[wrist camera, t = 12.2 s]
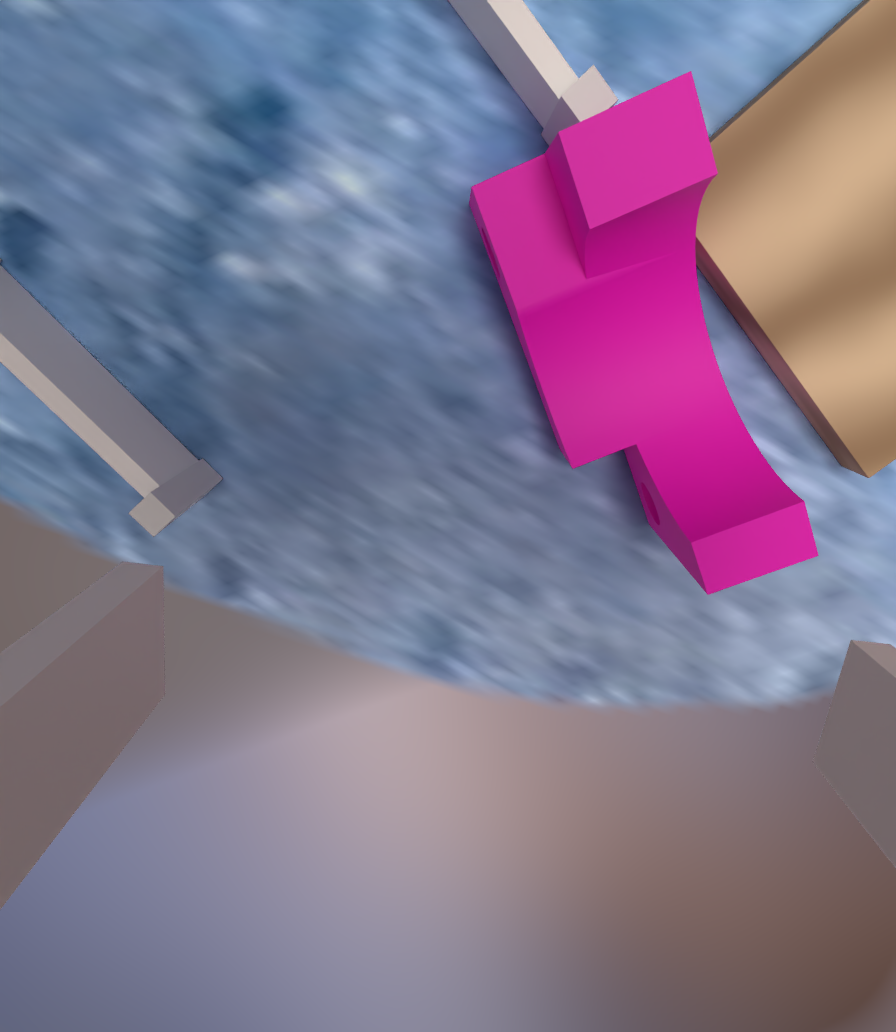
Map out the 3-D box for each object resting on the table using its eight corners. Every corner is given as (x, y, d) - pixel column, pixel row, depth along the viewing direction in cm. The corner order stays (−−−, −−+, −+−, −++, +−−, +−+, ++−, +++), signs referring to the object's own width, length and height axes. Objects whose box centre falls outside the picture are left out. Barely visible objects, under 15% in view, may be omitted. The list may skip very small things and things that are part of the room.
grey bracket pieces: (-41, 257, 27) (-155, 249, 22) (341, -198, 22) (308, -340, 17) (204, 496, 30) (154, 536, 25) (586, 137, 25) (618, 99, 20)
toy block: (469, 204, 26) (473, 171, 19) (624, 133, 25) (691, 70, 18) (594, 543, 30) (636, 620, 23) (731, 492, 29) (818, 555, 22)
